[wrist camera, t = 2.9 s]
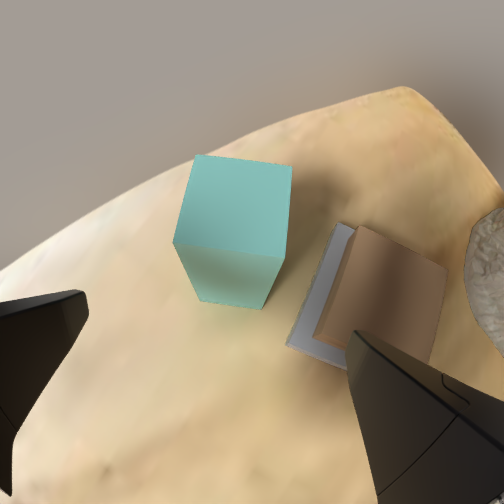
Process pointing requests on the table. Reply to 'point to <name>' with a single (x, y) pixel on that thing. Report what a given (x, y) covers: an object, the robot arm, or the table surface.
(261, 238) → the teal block
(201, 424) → the table surface
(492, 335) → the grey jagged round piece
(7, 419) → the robot arm
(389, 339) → the walnut slab
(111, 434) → the table surface
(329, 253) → the slate slab
